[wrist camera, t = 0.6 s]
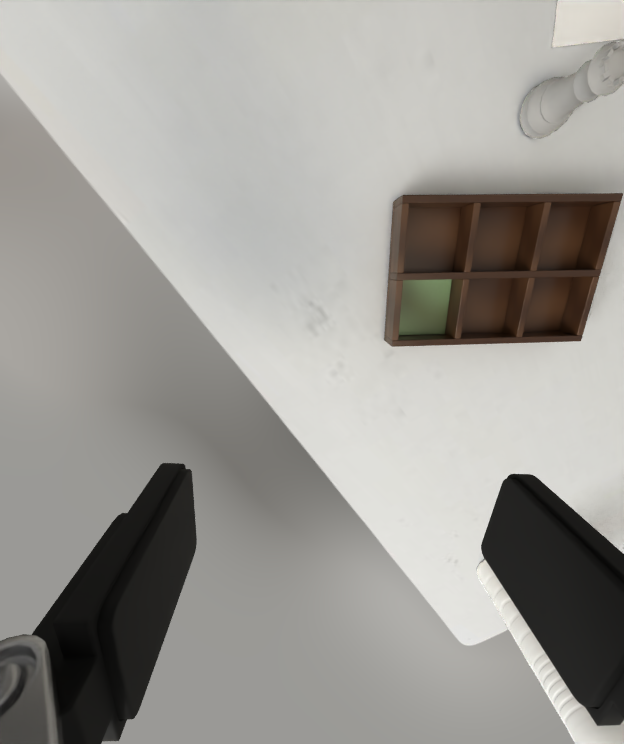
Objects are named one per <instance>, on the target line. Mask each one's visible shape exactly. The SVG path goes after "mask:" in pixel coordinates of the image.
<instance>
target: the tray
mask: <svg viewBox="0 0 624 744" xmlns="http://www.w3.org/2000/svg"><path fill="white" fill-rule="evenodd" d="M622 196H623V193H604V194H484V195H403V196H401V197H400V198H398V199H397V200H395V201H394V202H393V214H392V229H391V245H390V260H389V276H388V291H387V307H386V322H385V338H384V340H385V341H386V342H387V343H388V344H390V345H391V346H426V345H461V344H497V343H532V342H567V341H581V339H582V335H583V332H584V328H585V325H586V321H587V318H588V314H589V311H590V307H591V304H592V300H593V297H594V293H595V290H596V286H597V283H598V279H599V277H598V276H600V273H601V269H602V266H603V262H604V259H605V255H606V252H607V248H608V245H609V241H610V238H611V234H612V231H613V227H614V224H615V220H616V217H617V213H618V210H619V206H620V203H621V202H620V201H621V199H622Z"/></svg>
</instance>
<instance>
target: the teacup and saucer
mask: <svg viewBox="0 0 624 744" xmlns="http://www.w3.org/2000/svg"><path fill="white" fill-rule="evenodd" d="M619 39H624V0H558V1H557V10H556V18H555V27H554V36H553V44H552V48H553V47H561V46H570V45H578V44H586V43H594V42H603V41H611V40H619Z"/></svg>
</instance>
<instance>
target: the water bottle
mask: <svg viewBox="0 0 624 744" xmlns="http://www.w3.org/2000/svg"><path fill="white" fill-rule="evenodd" d="M477 576H478V578H479V580H480V582H481V583H482V585H483V587H484V588H485V590H486V591H487V593H488V595H489V597H490V599H491V600H492V602H493V603H494V604H495V607H496V609H497V611H498V612H499V614H500V616H501V617H502V619H503V620H504V622H505V624H506V626H507V628H508V629H509V631H510V632H511V634H512V636H513V638H514V640H515V641H516V643H517V645H518V646H519V647H520V649H521V651H522V653H523V655H524V657H525V659H526V660H527V662H528V663H529V665H530V667H531V668H532V670H533V671H534V673H535V675H536V677H537V678H538V680H539V682H540V684H541V685H542V687H543V688H544V691H545V692H546V694H547V696H549V699H550V701H551V703H552V704H553V705H554V707H555V709H556V711H557V713H558V714H559V715H560V718H561V720H562V722H563V723H564V725H565V726H566V727H567V730H568V732H569V734H570V735H571V737H572V739H573V741H574V743H575V744H624V721H623V722H622V723H621V725H611V726H597V725H596V723H595V722H594V720H593V719H592V717H591V716H590V714H589V713H588V711H587V710H586V708H585V707H584V706H583V705H581V704H580V703H579V702H578V701H577V700H576V699H575V698H574V696H573V695H572V693H571V692H570V690H569V689H568V687H567V686H566V684H565V683H564V681H563V679H562V678H561V676H560V675H559V673H558V672H557V670H556V669H555V667H554V665H553V664H552V662H551V661H550V659H549V658H548V656H547V655H546V653H545V651H544V650H543V648H542V647H541V645H540V644H539V642H538V641H537V639H536V637H535V636H534V634H533V633H532V631H531V630H530V628H529V627H528V625H527V624H526V622H525V620H524V619H523V617H522V616H521V614H520V613H519V611H518V610H517V608H516V606H515V605H514V603H513V602H512V600H511V599H510V597H509V596H508V594H507V592H506V591H505V589H504V588H503V586H502V585H501V583H500V582H499V580H498V578H497V577H496V575H495V574H494V572H493V571H492V569H491V568H490V566H489V564H488V563H487V561H486V560H485V559H484V560H483V562H481V563H480V564H479V566H478V568H477Z"/></svg>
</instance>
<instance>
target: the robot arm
mask: <svg viewBox="0 0 624 744" xmlns="http://www.w3.org/2000/svg"><path fill="white" fill-rule="evenodd" d="M195 549H196V525H195V511H194V497H193V483H192V471H191V470H190V469H186V468H185V465H184V464H175V463H163V464H161V465H160V466H159V468H158V469H157V471H156V472H155V474H154V475H153V477H152V478H151V480H150V481H149V483H148V484H147V485H146V487H145V488H144V490H143V491H142V493H141V494H140V496H139V497H138V498H137V500H136V502H135V503H134V504H133V506H132V507H131V509H130V510H129V512H128V513H122V514H120V515H119V516H117V518H116V519H115V520H114V521H113V522H112V524H111V525H110V527H109V528H108V529H107V531H106V532H105V533H104V535H103V536H102V538H101V539H100V540H99V542H98V543H97V545H96V546H95V547H94V549H93V550H92V552H91V553H90V554H89V556H88V557H87V558H86V560H85V561H84V563H83V564H82V565H81V567H80V568H79V570H78V571H77V572H76V574H75V575H74V577H73V578H72V579H71V581H70V582H69V584H68V585H67V586H66V588H65V589H64V590H63V592H62V593H61V595H60V596H59V597H58V599H57V600H56V601H55V603H54V604H53V606H52V607H51V608H50V610H49V611H48V613H47V614H46V616H45V617H44V618H43V620H42V621H41V622H40V624H39V625H38V626H37V628H36V629H35V631H34V632H33V634H32V635H24V634H23V635H19V636H14V637H10V638H6V639H5V640H2V641H0V744H101V743H102V741H119V739H120V737H121V734H122V731H123V729H124V726H125V723H126V721H127V719H134V718H135V716H136V715H137V713H138V711H139V708H140V706H141V703H142V700H143V697H144V695H145V691H146V689H147V686H148V683H149V680H150V677H151V675H152V672H153V669H154V666H155V663H156V661H157V658H158V655H159V652H160V650H161V646H162V644H163V641H164V638H165V635H166V633H167V630H168V627H169V624H170V621H171V618H172V616H173V613H174V610H175V607H176V605H177V602H178V599H179V596H180V593H181V590H182V588H183V585H184V582H185V579H186V576H187V573H188V570H189V568H190V565H191V562H192V559H193V556H194V553H195ZM481 549H482V554H483V556H484V558H485V560H486V561H487V563H488V564H489V566H490V568H491V569H492V571H493V572H494V574H495V575H496V577H497V578H498V580H499V582H500V583H501V585H502V586H503V588H504V589H505V591H506V592H507V594H508V596H509V597H510V599H511V600H512V602H513V603H514V605H515V606H516V608H517V610H518V611H519V613H520V614H521V616H522V617H523V619H524V620H525V622H526V624H527V625H528V627H529V628H530V630H531V631H532V633H533V634H534V636H535V637H536V639H537V641H538V642H539V644H540V645H541V647H542V648H543V650H544V651H545V653H546V655H547V656H548V658H549V659H550V661H551V662H552V664H553V665H554V667H555V669H556V670H557V672H558V673H559V675H560V676H561V678H562V679H563V681H564V683H565V684H566V686H567V687H568V689H569V690H570V692H571V693H572V695H573V696H574V698H575V699H576V700H577V701H578V702H579V703H580V704H581V705H583V706H584V707H585V708H586V710H587V711H588V713H589V714H590V716H591V717H592V719H593V720H594V722H595V723H596V725H597V726H611V725H621V723H622V722H623V721H624V554H623V553H622V552H621V551H619V550H618V549H617V548H616V547H615V546H614V545H613V544H612V543H610V542H609V541H608V540H607V539H606V538H605V537H604V536H602V535H601V534H600V533H599V532H598V531H597V530H596V529H594V528H593V527H592V526H591V525H590V524H589V523H588V522H587V521H585V520H584V519H583V518H582V517H581V516H580V515H579V514H577V513H576V512H575V511H574V510H573V509H572V508H571V507H570V506H568V505H567V504H566V503H565V502H564V501H563V500H562V499H560V498H559V497H558V496H557V495H556V494H555V493H554V492H552V491H551V490H550V489H549V488H548V487H547V486H546V485H545V484H543V483H542V482H541V481H540V480H539V479H538V478H536V477H535V476H533V475H530V474H511V475H509V476H508V478H507V479H505V480H504V481H503V483H502V486H501V489H500V492H499V495H498V498H497V500H496V503H495V506H494V509H493V512H492V515H491V518H490V521H489V524H488V527H487V530H486V533H485V535H484V538H483V541H482V545H481Z"/></svg>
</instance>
